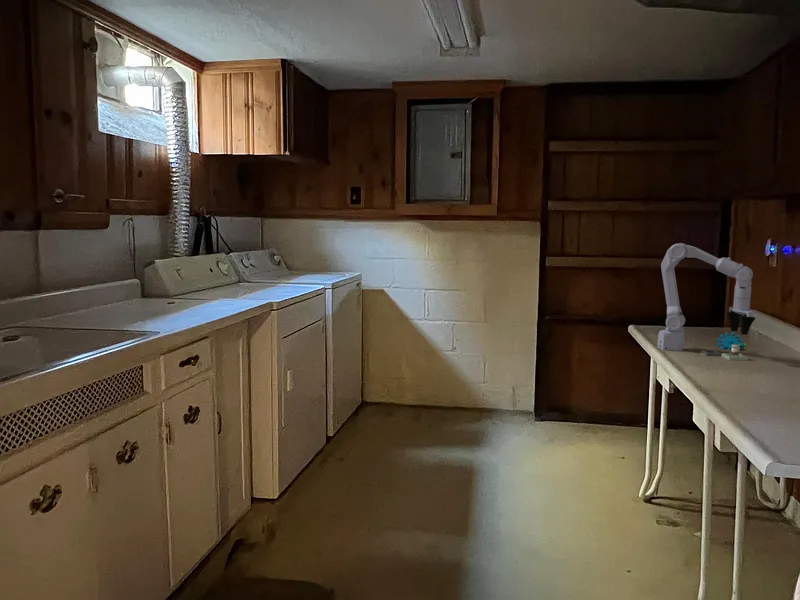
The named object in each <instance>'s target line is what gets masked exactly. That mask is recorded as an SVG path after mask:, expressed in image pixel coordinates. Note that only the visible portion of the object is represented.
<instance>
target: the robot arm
mask: <svg viewBox="0 0 800 600" xmlns="http://www.w3.org/2000/svg"><path fill="white" fill-rule="evenodd" d="M685 258H687V259H688V258H693V259H695V258H696V259H698V260H701V261H703V262H705V263H708V264H710V265H713V266H714V267H715V270H716V271H717V272H719V273H722V274H724V275H726V276H728V277H731V278H735V285H734V293H733V304H732V306H729V308H728V312H726V316H727V318H728V321H729V325H730V331H731V332H738V330H739V325H740V335H741V336H742V335H745V336H747V335H748V334H749V331H750V328H751V326H752V324H753V323H754V321H755V320H756V317H754V311H753V309H751V308H750V307H751V295H752V283H753V282H752V279H753V276H754V273H753V270H752V269H751V268H750V267H748V266H744V264H743V263H738V262H736V261H733V260H731V259H732V258H731V257H721V258H718V257H717V256H715V255H712V254H710V253H708V252H707V251H704V250H702V249H700V248H699V247H696V246H692V245H689V244H686V243H682V242H680V243H674V244H673V245H671V246H670V247H669V248H668V249H667V250H666V253H665V255H664V257H663V260H661V261H662V262H661V264H660V268H661V275H662V282H663V288H664V295H665V303H666V319H665V326H666V327H665V329H661V330H659V331H658V334H657V348H658V349H660V350H661V351H671V352H672V351H674V352H681V351H684V341H685V329H684V327H683V326H684V325H685V323H686V317H685V316H684V314H683V312H682V311H683V310H682V308H681V305H680V298H679V291H678V286H677V285H678V284H677V278H676V273H675V272H676V271H675V267H676V266H677V265H678V264H679V262H680V261H682V260H684V259H685Z"/></svg>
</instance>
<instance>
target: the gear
mask: <svg viewBox="0 0 800 600" xmlns="http://www.w3.org/2000/svg"><path fill="white" fill-rule="evenodd" d="M724 336H725V337H724ZM716 342H717V343H716V345H717V347H720V349H721V350H727V351H728V350H729V351H730V350H731V348H732V347H731V345H739V346H740V347H739V351H741V350H744V348H746V347H747V343H745V342H743V338H741V335H739V334H736V335H735V332H734V331H731V332H730V335H729V332H724V334H720V335H719V337H717V339H716Z"/></svg>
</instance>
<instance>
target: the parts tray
mask: <svg viewBox="0 0 800 600" xmlns="http://www.w3.org/2000/svg"><path fill="white" fill-rule="evenodd" d="M721 355H722V356H721V358H724V359H725V360H729V361H748V359H749V357H748V356H746V355H745V354H741V353H739V355H738V356H731V352H730V353H729V352H728V353H724V352H722V353H721Z"/></svg>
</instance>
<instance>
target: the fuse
mask: <svg viewBox="0 0 800 600" xmlns="http://www.w3.org/2000/svg"><path fill="white" fill-rule="evenodd" d="M731 347H732V348H731V349H730V353H731V356H738V355H739V354H740V350H739V347H740V346H739V345H731Z"/></svg>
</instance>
